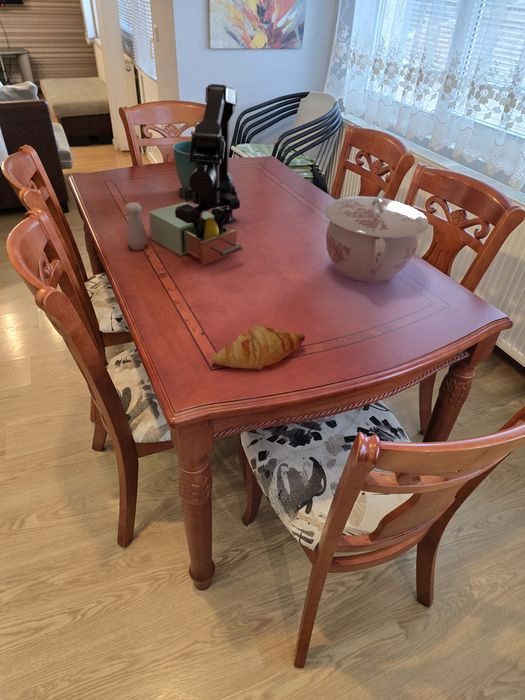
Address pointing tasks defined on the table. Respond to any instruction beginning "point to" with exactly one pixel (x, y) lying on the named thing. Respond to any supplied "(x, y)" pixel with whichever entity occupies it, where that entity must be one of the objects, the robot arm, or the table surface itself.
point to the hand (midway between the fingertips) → (209, 236)
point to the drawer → (209, 244)
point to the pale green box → (170, 227)
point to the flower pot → (184, 162)
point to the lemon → (210, 228)
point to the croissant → (258, 348)
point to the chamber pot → (372, 236)
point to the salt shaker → (135, 227)
